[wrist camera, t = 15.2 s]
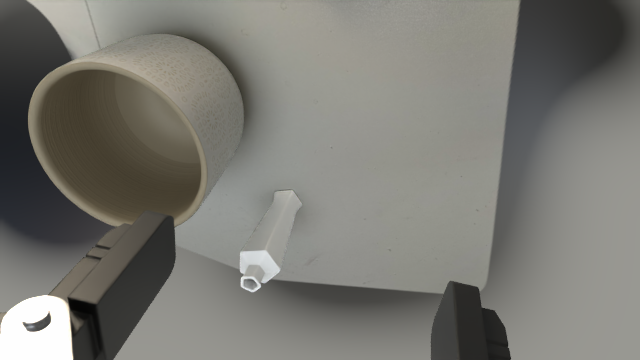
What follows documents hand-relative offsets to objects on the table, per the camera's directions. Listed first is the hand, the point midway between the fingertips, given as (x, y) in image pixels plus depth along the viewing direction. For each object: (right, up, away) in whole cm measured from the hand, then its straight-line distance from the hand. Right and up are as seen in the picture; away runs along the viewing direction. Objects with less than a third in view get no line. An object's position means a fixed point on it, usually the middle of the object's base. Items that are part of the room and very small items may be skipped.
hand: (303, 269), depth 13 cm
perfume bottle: (-3, 0, +46) cm, 47 cm away
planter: (-15, +13, +41) cm, 46 cm away
